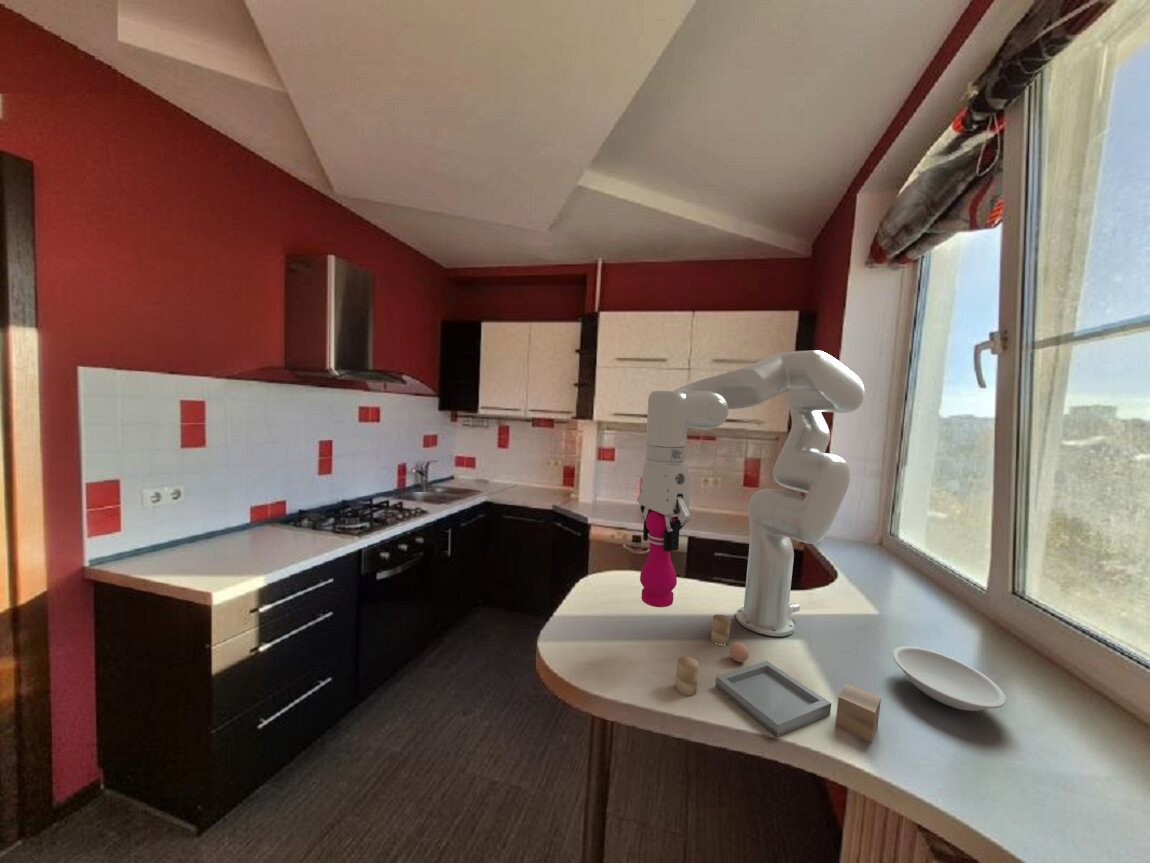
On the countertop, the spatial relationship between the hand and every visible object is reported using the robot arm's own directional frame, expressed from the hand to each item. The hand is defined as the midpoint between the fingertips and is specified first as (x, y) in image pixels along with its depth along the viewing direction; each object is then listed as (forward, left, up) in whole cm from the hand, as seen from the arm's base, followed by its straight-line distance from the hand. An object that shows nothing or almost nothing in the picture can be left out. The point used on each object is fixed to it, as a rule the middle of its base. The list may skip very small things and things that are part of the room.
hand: (660, 544), depth 90 cm
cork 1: (+2, +12, -22) cm, 25 cm away
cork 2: (-16, +2, -22) cm, 28 cm away
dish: (-40, +32, -23) cm, 56 cm away
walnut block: (-18, +30, -22) cm, 42 cm away
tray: (-10, +20, -22) cm, 32 cm away
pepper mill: (0, 0, -12) cm, 12 cm away
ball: (-14, +9, -20) cm, 27 cm away
